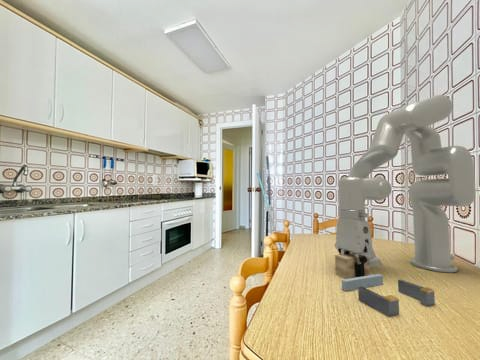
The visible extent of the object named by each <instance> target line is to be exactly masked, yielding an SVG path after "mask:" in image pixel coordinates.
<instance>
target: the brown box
mask: <svg viewBox="0 0 480 360" xmlns="http://www.w3.org/2000/svg"><path fill="white" fill-rule="evenodd" d="M360 258H361V255H360ZM334 261H335V263H334V264H335V265H334V269H335V276H338V277H339V278H342V279H343V280H344V279H350V278H356V276H355V263H357V262H356V257H355V253H352V254H342V255H339V254H335V255H334ZM370 269H371V267H370V262H369V260H368V261H367V262H366V263H365V264H364V276H368V275H371V270H370Z"/></svg>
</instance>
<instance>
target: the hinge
mask: <svg viewBox="0 0 480 360" xmlns="http://www.w3.org/2000/svg"><path fill="white" fill-rule="evenodd" d="M345 252H346V251H345ZM372 252H373V254H374V256H375V257H374V258H372V259H369V262H370V268H374V267H377V266H381V265H382V264H383V262H382V260H381V258H380V257H378V256H377V255H376V253H375V250H374V248H373V247H372ZM352 253H353V252H350V254H352ZM338 255H340V253H339V252H338ZM365 255H366V253H365Z"/></svg>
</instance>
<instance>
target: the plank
mask: <svg viewBox="0 0 480 360" xmlns="http://www.w3.org/2000/svg"><path fill="white" fill-rule="evenodd" d="M381 285H384V275H382V274H380V273H376V274H370V275H368V276H362V277H356V278H350V279H344V278H343V279H341V290H342V291H344V292H350V291H355V290H358V287H364V288H366V289H368V288H372V287H377V286H378V287H379V286H381Z"/></svg>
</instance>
